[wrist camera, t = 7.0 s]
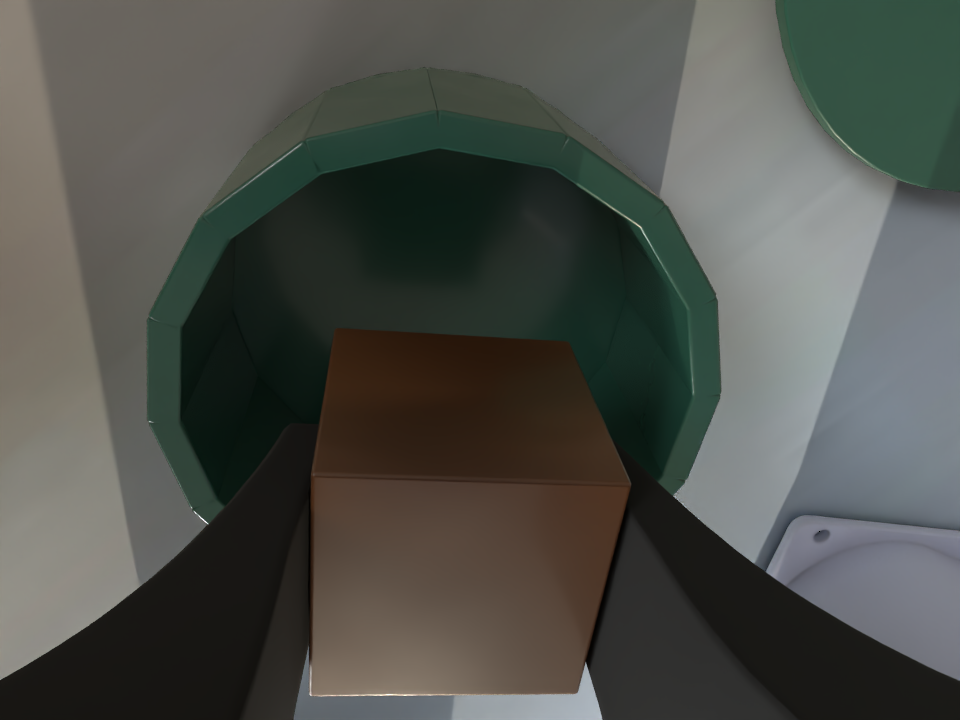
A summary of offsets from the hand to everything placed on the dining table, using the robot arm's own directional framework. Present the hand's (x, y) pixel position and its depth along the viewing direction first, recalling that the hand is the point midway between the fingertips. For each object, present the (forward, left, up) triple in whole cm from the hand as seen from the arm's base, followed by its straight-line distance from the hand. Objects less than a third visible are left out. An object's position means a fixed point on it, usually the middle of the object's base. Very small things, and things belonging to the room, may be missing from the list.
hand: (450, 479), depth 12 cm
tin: (0, 0, -8) cm, 8 cm away
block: (0, 0, -1) cm, 1 cm away
